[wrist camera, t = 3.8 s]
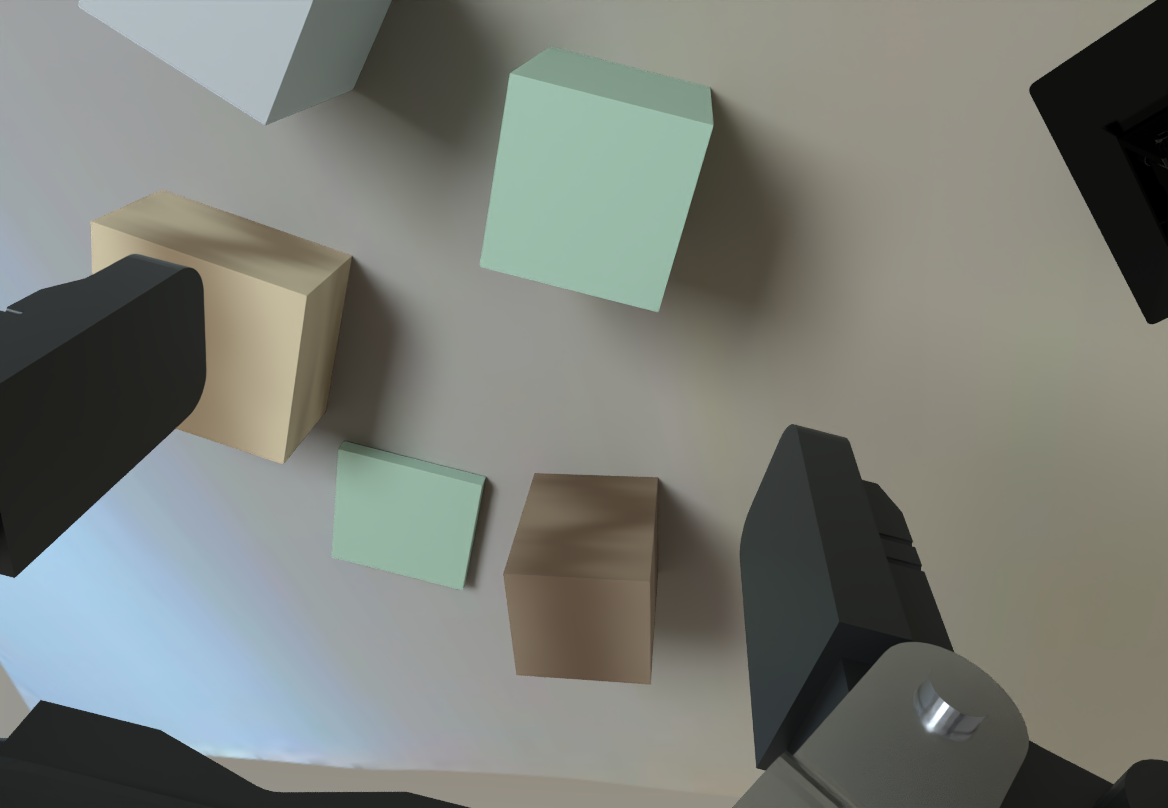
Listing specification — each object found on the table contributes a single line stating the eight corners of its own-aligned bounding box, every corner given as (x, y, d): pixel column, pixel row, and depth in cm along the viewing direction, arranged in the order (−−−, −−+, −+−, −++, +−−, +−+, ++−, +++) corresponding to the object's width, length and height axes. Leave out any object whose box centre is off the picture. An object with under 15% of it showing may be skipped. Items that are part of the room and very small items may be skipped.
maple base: (354, 253, 28) (306, 295, 25) (328, 408, 32) (283, 464, 28) (166, 187, 28) (90, 221, 24) (161, 352, 31) (95, 401, 28)
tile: (485, 476, 32) (482, 485, 32) (465, 580, 35) (462, 590, 35) (344, 440, 32) (338, 449, 32) (337, 548, 35) (331, 557, 35)
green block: (710, 87, 24) (713, 125, 19) (666, 241, 26) (658, 312, 21) (550, 46, 24) (509, 73, 19) (522, 204, 26) (479, 266, 21)
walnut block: (658, 476, 31) (649, 581, 26) (657, 571, 34) (650, 684, 28) (534, 472, 32) (503, 573, 27) (543, 566, 34) (516, 675, 29)
